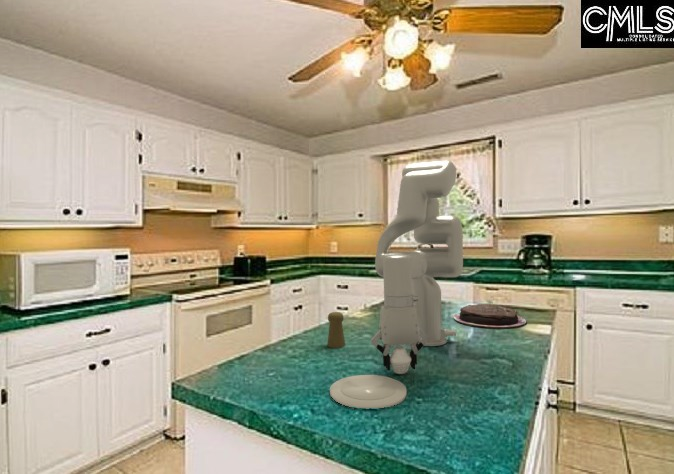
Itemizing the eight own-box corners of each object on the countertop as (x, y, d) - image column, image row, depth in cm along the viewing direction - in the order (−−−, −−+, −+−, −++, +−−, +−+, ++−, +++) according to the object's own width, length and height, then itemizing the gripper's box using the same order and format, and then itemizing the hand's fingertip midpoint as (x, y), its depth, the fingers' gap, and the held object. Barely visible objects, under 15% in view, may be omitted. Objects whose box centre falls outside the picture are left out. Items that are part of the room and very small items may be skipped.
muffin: (406, 377, 104) (405, 350, 104) (384, 373, 107) (383, 347, 107) (415, 369, 109) (414, 344, 109) (394, 366, 113) (393, 341, 112)
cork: (343, 348, 132) (342, 314, 132) (325, 347, 134) (324, 314, 133) (346, 343, 138) (346, 310, 138) (329, 342, 139) (328, 310, 139)
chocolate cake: (530, 318, 170) (530, 302, 170) (520, 333, 147) (520, 315, 146) (463, 312, 185) (463, 297, 185) (444, 325, 162) (443, 308, 161)
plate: (397, 377, 106) (397, 372, 106) (415, 407, 88) (415, 402, 88) (328, 380, 105) (328, 375, 105) (332, 411, 87) (331, 406, 87)
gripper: (426, 297, 112) (427, 361, 113) (364, 299, 111) (366, 364, 112) (434, 302, 104) (436, 371, 105) (368, 305, 103) (370, 375, 104)
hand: (400, 367), depth 108 cm, fingers closed on muffin, 6 cm apart
